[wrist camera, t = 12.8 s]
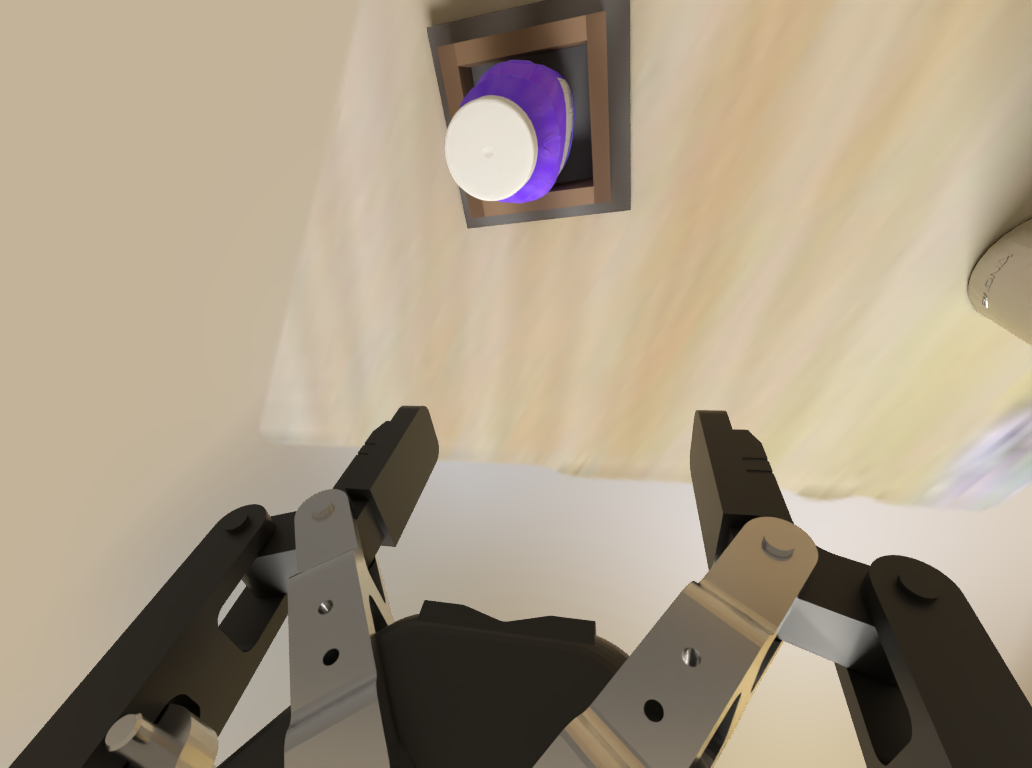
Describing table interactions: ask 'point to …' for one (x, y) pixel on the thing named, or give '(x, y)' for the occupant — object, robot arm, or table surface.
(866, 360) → the table surface
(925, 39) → the table surface
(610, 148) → the open box
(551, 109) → the bottle
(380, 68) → the table surface
